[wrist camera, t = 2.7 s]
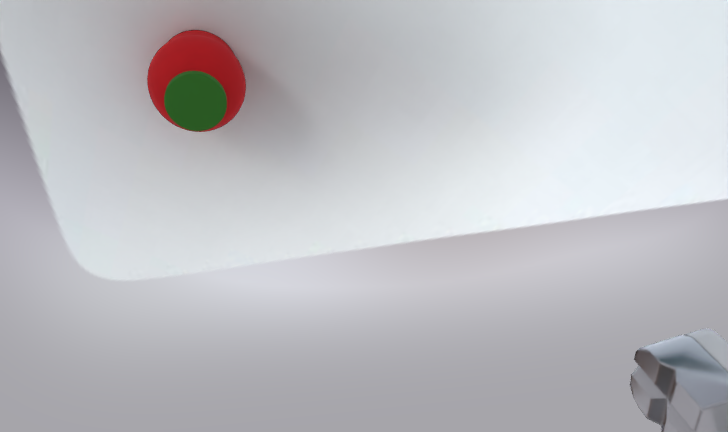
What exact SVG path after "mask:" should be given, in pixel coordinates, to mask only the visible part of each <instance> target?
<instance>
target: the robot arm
mask: <svg viewBox="0 0 728 432" xmlns="http://www.w3.org/2000/svg"><path fill="white" fill-rule="evenodd" d="M634 360H635V362H636V363H637V364H638V365H639V366H638V367H637V368H636V370H635V371H634V372H633V373H632V374H631V382H630V387H631V391H632V394H633V398H634V399H635V401H636V403H637V405H638V407H639V408H640V410H641V411H642V413H643V414H644V415H645V417H646V418H647V419H649V420H651V421H653V422H655V423H657V424H659V425H661V432H728V342H727V341H726V340H725V339H724V338H722V337H721V336H720V335H719V334H718V333H717V332H716V331H714V330H712V329H710V328H704V329H700V330H697V331H694V332H690V333H687V334H684V335H678V336H675V337H673V338H669V339H666V340H663V341H660V342H656V343H653V344H650V345H647V346H644V347H641V348H639V349H638V350H637V351H636V354H635V358H634Z"/></svg>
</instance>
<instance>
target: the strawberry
mask: <svg viewBox="0 0 728 432" xmlns="http://www.w3.org/2000/svg"><path fill="white" fill-rule="evenodd" d="M147 81H148V90H149V93H150V97H151V99H152V102H153V104H154V105H155V107H156V109H157V110H158V111H159V112H160V114H161V115H162V116H163V117H164V118H166V119H167V120H168V121H169V122H171V123H172V124H174V125H176V126H177V127H180V128H182V129H185V130H189V131H196V132H205V131H211V130H214V129H217V128H220V127H222V126H223V125H225V124H227V123H228V122H229V121H231V120H232V119H233V118H234V117H235V116H236V114H237V113H238V111H239V110H240V108H241V106H242V104H243V101H244V97H245V90H246V82H245V76H244V72H243V70H242V67H241V65H240V63H239V61H238V59H237V58H236V57H235V55H234V53H233V52H232V50H231V49H230V47H229V46H228V45H227V44H226V43H225V42H224V41H223V40H222V39H220V38H219V37H218V36H216V35H214V34H211V33H209V32H205V31H200V30H191V31H185V32H182V33H180V34H177V35H176V36H174V37H173V38H171V39H170V40H169V41H168V42H167V43H166V44H165V45H163V46H162V47H161V48H160V49H159V50H158V52H157V53H156V54H155V56H154V57H153V59H152V61H151V64H150V66H149V70H148V78H147Z"/></svg>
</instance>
